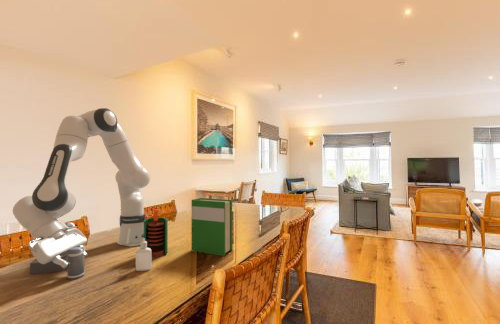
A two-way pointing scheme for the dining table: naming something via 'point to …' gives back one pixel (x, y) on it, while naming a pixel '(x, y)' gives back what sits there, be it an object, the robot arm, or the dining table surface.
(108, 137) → the robot arm
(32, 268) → the grey holder base
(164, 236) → the motor
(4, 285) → the dining table surface
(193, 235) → the hardback book
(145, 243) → the eye dropper bottle
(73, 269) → the lens
